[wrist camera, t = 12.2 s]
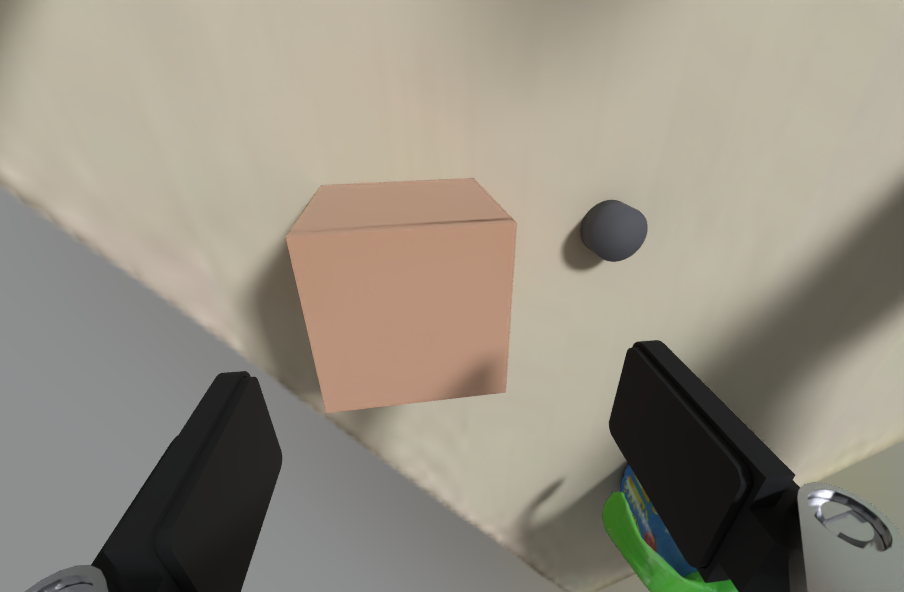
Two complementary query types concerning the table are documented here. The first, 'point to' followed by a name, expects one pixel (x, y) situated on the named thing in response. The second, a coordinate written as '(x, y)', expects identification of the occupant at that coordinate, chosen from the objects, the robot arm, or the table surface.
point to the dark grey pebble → (613, 230)
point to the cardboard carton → (405, 291)
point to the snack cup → (651, 542)
